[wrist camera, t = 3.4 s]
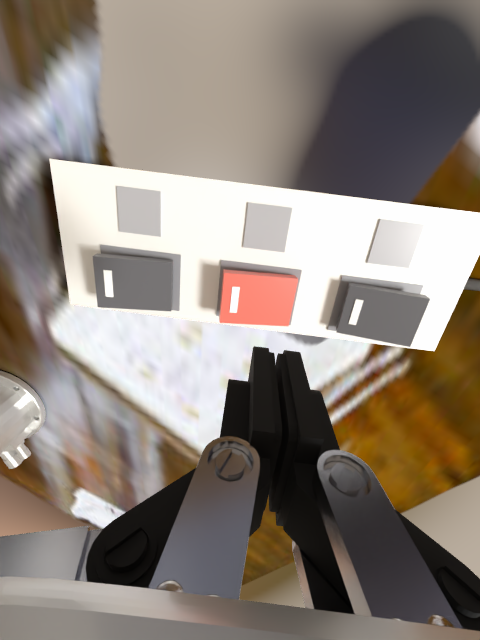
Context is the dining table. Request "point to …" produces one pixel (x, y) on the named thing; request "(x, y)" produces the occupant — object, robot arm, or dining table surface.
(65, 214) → the rocker switch panel
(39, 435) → the dining table surface
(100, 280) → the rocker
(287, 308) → the red rocker
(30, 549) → the robot arm
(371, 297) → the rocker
